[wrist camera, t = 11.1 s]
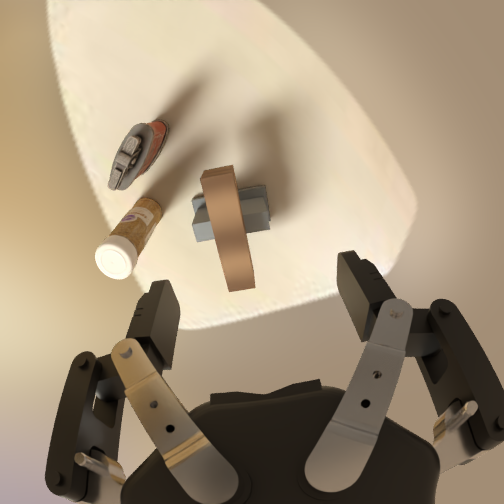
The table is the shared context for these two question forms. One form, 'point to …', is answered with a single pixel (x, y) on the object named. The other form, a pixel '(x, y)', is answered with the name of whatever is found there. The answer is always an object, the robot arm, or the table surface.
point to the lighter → (137, 153)
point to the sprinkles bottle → (128, 239)
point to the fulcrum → (252, 210)
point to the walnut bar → (228, 226)
